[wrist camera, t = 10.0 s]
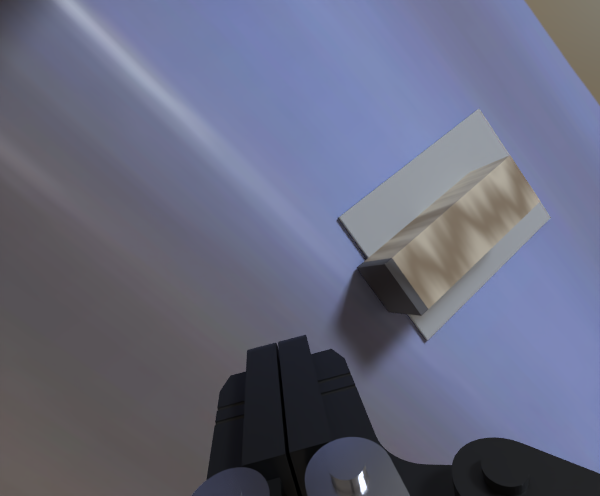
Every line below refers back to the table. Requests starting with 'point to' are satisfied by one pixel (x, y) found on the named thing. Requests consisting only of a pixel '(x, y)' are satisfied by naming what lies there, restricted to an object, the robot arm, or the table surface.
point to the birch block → (448, 238)
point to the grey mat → (425, 191)
